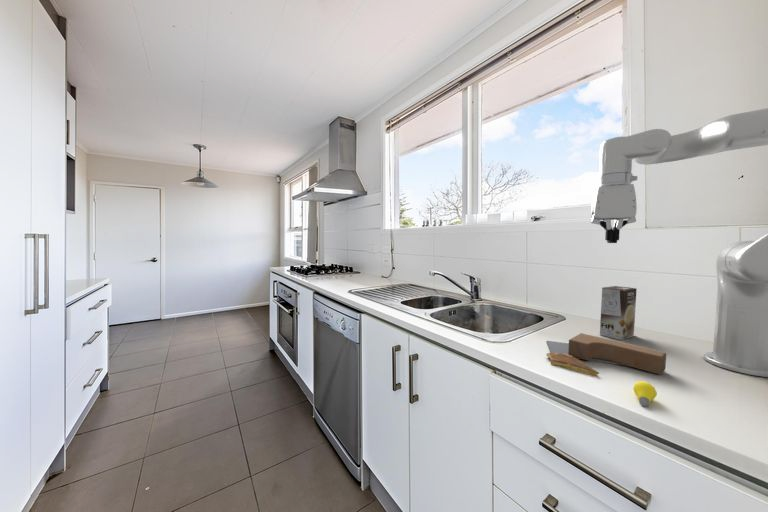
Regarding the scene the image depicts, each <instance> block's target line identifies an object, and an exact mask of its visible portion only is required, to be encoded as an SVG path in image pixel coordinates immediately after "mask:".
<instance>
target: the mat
mask: <svg viewBox="0 0 768 512" xmlns="http://www.w3.org/2000/svg"><path fill="white" fill-rule="evenodd" d="M546 344H547V348H548V350H549V353H563V354H567V355H569V354H568V350H569V342H568V343H567V342H560V341H552V340H546ZM575 358H577V357H575ZM577 359H579V360H581V359H580V358H577ZM582 360H584V359H582ZM588 361H591V362H597V363H605V364H612V365H618V366H619V365H620V366H626V367H628V366H627V365H623V364H620V363H616V362H612V361H608V360H603V359H594V358H592V359H589V360H588Z"/></svg>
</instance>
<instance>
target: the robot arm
mask: <svg viewBox="0 0 768 512" xmlns="http://www.w3.org/2000/svg"><path fill="white" fill-rule="evenodd" d="M762 146H764V147H765V146H768V107H767V108H761V109H757V110H750V111H746V112H741V113H740V112H739V113H735V114H730V115H727V116H724V117H721V118H719V119H716V120H713V121H712V122H710V123H708V124H706V125H703V126H701V127H698V128H696V129H693V130H690V131H686V132H683V133H678V134H673V135H671V133H670V132H669V130H666V129H663V128H662V129H661V128H653V129H650V130H649V129H647V130H645V131H642V132H638V133H635V134H632V135H626V136H616V137H612V138H608V139H606V140H604V141H603V142H602V143H601V144H600V146H599V148H600V149H599V167H598V169H599V172H598V186H596V187H595V188H594V192H593V197H592V202H591V209H590V210H591V211H590V217H591V221H590V223H591V224H594V225H598V226H601V227H602V228H603V230H605V234H604V235H605V236H604V237H605V241H606V243H607V244H618V241H619V240H620V230H621V229H623V227H625V226H626V225H628V224H633V223H636V222H637V218H636V215H637V211H638V210H637V208H638V207H637V195H636V189H635V185H634V183H632V182H636V181H637V180H638V175H633V173H632V167H633V166H632V165H633V162H635V163H636V164H639V165H648V166H649V165H655V164H656V165H657V164H662V163H671V162H677V161H682V160H683V161H684V160H688V159H693V158H698V157H704V156H710V155H714V154H715V155H716V154H718V153H719V154H720V153H723V152H728V151H730V152H731V151H735V150H741V149H748V148H749V149H750V148H757V147H762ZM613 220H614V223H613V225H612V221H613ZM612 226H613V227H612ZM715 267H716V278H717V294H716V297H717V298H716V306H715V307H716V308H715V318H714V321H715V322H714V334H713V346H712V347H713V348H712V349H713V350H712V351H709V352H708V351H707V352H705V353H703V359H704V360H705V361H706V362H708V363H710V364H712V365H714V366H717V367H719V368H722V369H726V370H729V371H733V372H737V373H740V374H746V375H751V376H757V377H763V378H768V232H767V233H766V234H764V235H763V236H761V237H760V238H758V239H757V240H744V241H738V242H734V243H731V244H729V245H727V246H726V247H724V248H723V249H722V250H721V251H720V252H719V254H718V256H717V258H716V266H715Z"/></svg>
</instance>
